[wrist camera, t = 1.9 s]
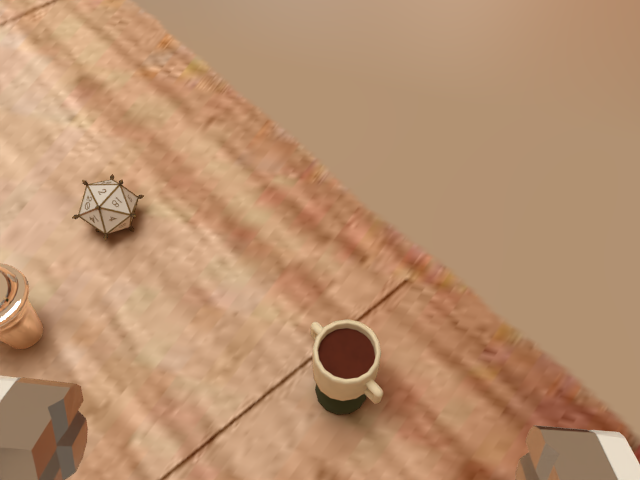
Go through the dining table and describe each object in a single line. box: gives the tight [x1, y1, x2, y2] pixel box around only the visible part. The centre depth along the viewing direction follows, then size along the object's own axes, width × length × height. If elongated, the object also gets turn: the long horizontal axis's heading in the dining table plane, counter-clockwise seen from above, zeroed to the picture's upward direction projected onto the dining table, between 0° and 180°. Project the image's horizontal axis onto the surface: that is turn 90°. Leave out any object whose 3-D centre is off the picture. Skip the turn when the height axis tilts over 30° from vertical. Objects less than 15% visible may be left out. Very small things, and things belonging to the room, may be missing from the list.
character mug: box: [311, 320, 383, 414], centre depth 66 cm, size 11×7×13 cm, turn 42°
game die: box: [72, 174, 144, 240], centre depth 81 cm, size 9×8×10 cm
